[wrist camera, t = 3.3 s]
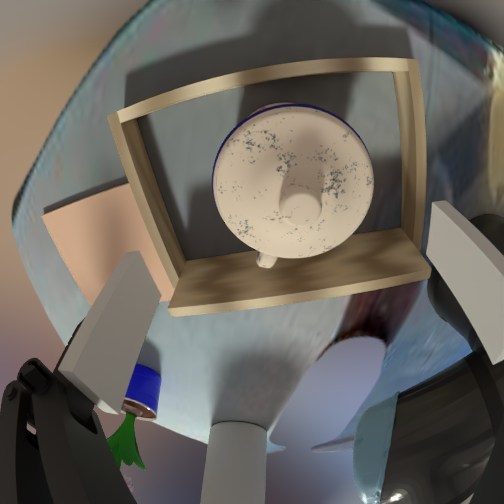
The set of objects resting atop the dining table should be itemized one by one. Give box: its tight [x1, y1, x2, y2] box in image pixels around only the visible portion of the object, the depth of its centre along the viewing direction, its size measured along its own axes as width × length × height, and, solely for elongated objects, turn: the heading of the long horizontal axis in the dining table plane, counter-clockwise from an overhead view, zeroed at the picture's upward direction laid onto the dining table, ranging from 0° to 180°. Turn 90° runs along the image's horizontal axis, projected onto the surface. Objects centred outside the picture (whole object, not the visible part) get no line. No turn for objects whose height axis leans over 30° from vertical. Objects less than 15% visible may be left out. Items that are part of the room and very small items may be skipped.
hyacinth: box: [107, 364, 161, 495], centre depth 29 cm, size 9×10×30 cm
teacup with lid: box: [212, 102, 374, 268], centre depth 18 cm, size 12×9×12 cm
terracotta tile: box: [41, 182, 175, 307], centre depth 28 cm, size 14×14×1 cm
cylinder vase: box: [201, 421, 267, 504], centre depth 43 cm, size 12×12×25 cm
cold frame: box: [107, 57, 431, 317], centre depth 20 cm, size 24×17×7 cm
